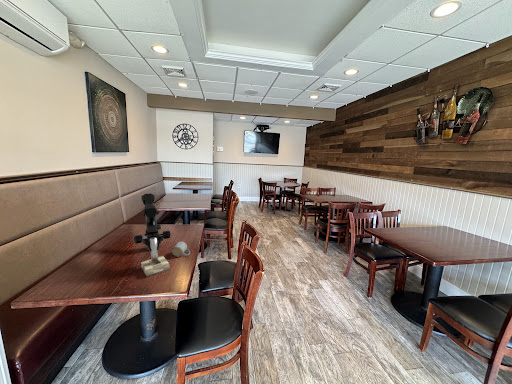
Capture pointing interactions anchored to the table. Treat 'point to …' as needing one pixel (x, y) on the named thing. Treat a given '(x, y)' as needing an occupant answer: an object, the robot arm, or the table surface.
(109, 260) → the table surface
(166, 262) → the socket block
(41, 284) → the table surface
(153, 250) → the steel pin
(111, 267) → the table surface
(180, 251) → the ceramic mug
